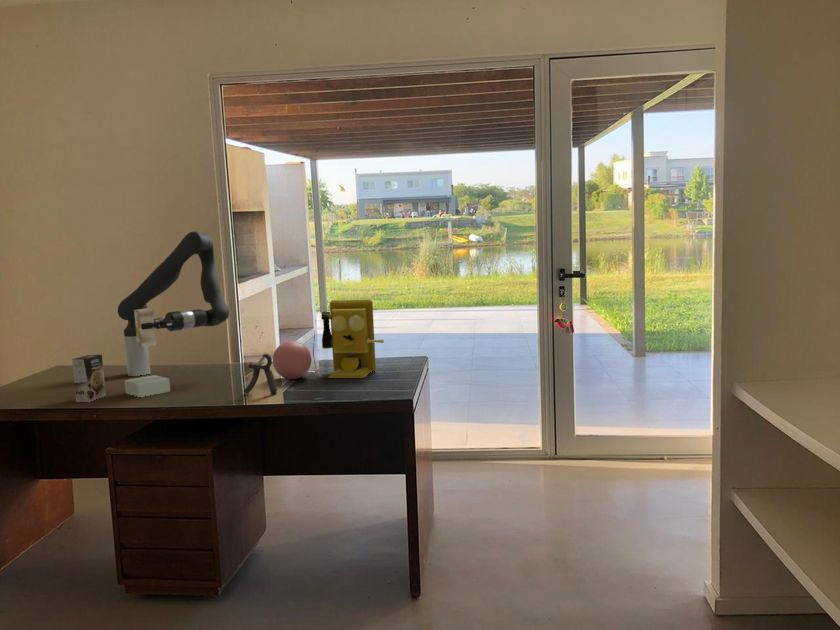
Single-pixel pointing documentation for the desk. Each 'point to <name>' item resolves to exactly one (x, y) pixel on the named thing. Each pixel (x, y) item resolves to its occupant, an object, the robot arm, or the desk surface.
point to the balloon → (292, 360)
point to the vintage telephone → (350, 338)
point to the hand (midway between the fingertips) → (138, 326)
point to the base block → (147, 386)
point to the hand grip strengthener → (267, 372)
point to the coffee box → (88, 378)
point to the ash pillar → (147, 335)
